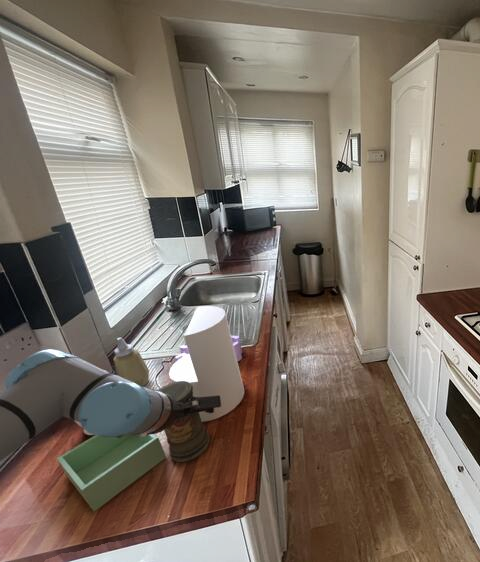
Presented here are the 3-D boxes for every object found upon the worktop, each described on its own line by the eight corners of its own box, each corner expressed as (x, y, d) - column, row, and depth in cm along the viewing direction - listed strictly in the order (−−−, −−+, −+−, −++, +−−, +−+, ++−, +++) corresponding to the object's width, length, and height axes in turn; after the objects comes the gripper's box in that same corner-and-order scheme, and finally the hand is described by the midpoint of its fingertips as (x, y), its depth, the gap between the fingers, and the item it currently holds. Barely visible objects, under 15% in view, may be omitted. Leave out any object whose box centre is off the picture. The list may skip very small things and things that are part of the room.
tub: (68, 478, 72) (56, 458, 69) (138, 433, 84) (129, 414, 81) (94, 511, 65) (81, 490, 62) (166, 457, 76) (158, 437, 74)
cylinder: (245, 375, 105) (228, 302, 94) (242, 412, 89) (221, 329, 79) (189, 388, 100) (164, 311, 89) (175, 429, 84) (143, 343, 74)
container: (174, 439, 81) (154, 385, 75) (212, 428, 84) (195, 375, 77) (166, 468, 74) (143, 411, 67) (208, 456, 76) (189, 399, 70)
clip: (243, 346, 121) (239, 331, 118) (241, 364, 110) (237, 348, 108) (186, 358, 115) (181, 342, 112) (178, 378, 104) (173, 362, 102)
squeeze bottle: (151, 387, 101) (133, 340, 94) (120, 396, 97) (99, 348, 90) (153, 373, 107) (136, 329, 101) (125, 381, 104) (105, 336, 97)
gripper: (62, 460, 51) (120, 452, 70) (224, 410, 61) (238, 415, 79) (64, 414, 54) (119, 418, 72) (219, 373, 63) (233, 385, 82)
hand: (181, 416), depth 76 cm, fingers open, 13 cm apart
